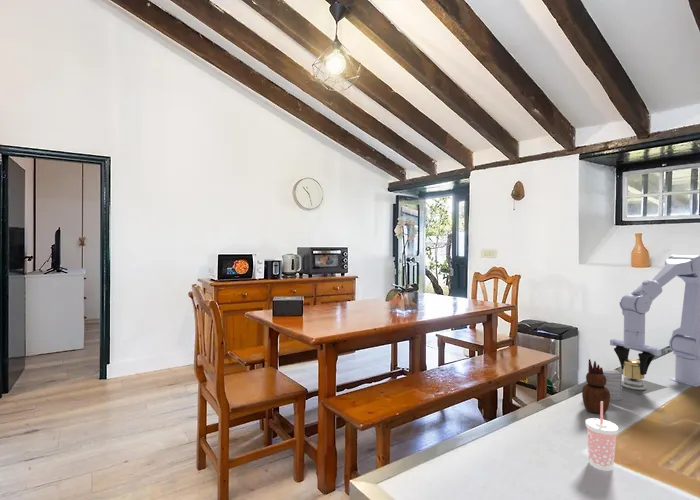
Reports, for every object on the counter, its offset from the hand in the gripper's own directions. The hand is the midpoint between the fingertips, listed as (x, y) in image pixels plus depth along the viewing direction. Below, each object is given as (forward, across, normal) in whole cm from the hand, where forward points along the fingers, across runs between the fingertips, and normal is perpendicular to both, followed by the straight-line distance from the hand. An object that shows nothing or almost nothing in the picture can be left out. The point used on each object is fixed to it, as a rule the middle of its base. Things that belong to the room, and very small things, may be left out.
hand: (633, 371), depth 132 cm
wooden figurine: (+6, +6, -29) cm, 30 cm away
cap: (+2, 0, 0) cm, 2 cm away
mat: (+6, 0, +2) cm, 6 cm away
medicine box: (+6, +1, -17) cm, 18 cm away
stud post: (+5, 0, 0) cm, 5 cm away
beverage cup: (+6, +24, -55) cm, 60 cm away
